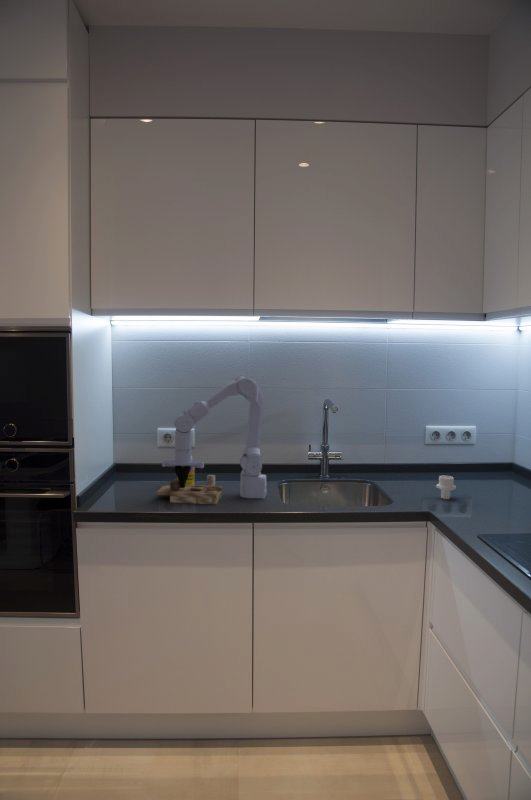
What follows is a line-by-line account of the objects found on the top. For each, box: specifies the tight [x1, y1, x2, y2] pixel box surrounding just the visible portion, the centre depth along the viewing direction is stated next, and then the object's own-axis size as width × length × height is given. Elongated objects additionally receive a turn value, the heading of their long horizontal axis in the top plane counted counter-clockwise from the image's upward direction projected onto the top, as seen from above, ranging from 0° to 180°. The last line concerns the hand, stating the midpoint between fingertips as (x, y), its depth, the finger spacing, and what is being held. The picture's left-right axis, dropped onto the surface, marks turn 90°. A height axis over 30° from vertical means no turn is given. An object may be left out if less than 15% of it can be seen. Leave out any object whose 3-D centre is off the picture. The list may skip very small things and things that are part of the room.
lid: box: [156, 478, 208, 496], centre depth 192 cm, size 16×9×4 cm, turn 85°
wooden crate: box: [169, 484, 223, 505], centre depth 192 cm, size 16×11×4 cm
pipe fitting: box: [435, 475, 457, 500], centre depth 204 cm, size 6×7×8 cm
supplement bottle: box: [176, 455, 196, 485], centre depth 209 cm, size 7×7×13 cm
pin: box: [206, 474, 216, 486], centre depth 203 cm, size 3×3×7 cm
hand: (182, 487), depth 192 cm, fingers closed
